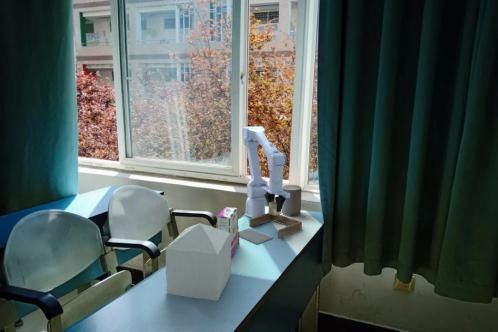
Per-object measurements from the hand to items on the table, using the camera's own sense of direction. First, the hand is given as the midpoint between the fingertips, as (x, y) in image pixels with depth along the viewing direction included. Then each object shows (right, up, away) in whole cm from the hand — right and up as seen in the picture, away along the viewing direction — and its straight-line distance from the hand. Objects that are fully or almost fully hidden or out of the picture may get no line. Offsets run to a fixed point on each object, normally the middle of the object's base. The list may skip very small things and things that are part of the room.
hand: (274, 210), depth 154 cm
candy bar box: (-20, -13, -24) cm, 34 cm away
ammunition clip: (-20, -11, -14) cm, 27 cm away
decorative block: (-27, -17, -45) cm, 55 cm away
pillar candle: (+10, -5, +22) cm, 25 cm away
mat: (-10, -10, -8) cm, 16 cm away
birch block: (0, -1, 0) cm, 2 cm away
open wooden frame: (0, -8, +2) cm, 8 cm away
